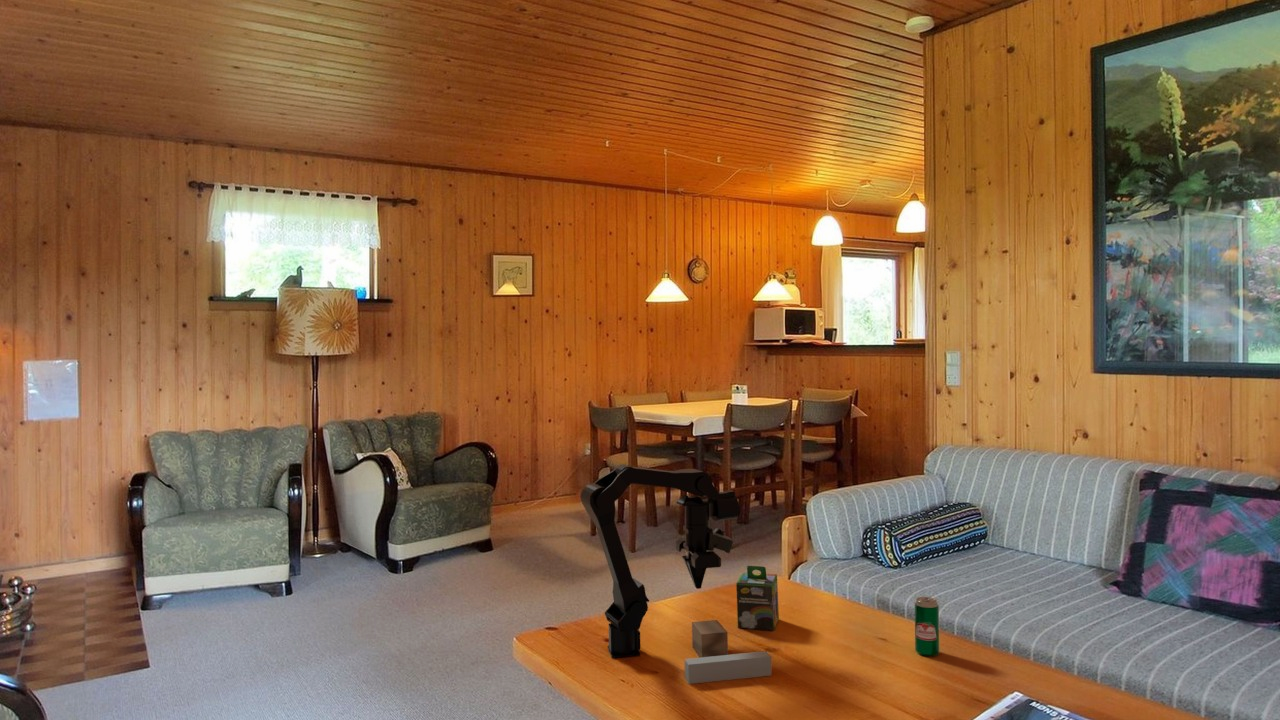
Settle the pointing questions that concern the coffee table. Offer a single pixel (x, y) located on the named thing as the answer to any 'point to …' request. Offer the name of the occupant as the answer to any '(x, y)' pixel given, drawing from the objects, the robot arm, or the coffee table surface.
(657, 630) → the coffee table surface
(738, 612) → the chalk box
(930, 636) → the soda can
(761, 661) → the batten
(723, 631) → the walnut brick
